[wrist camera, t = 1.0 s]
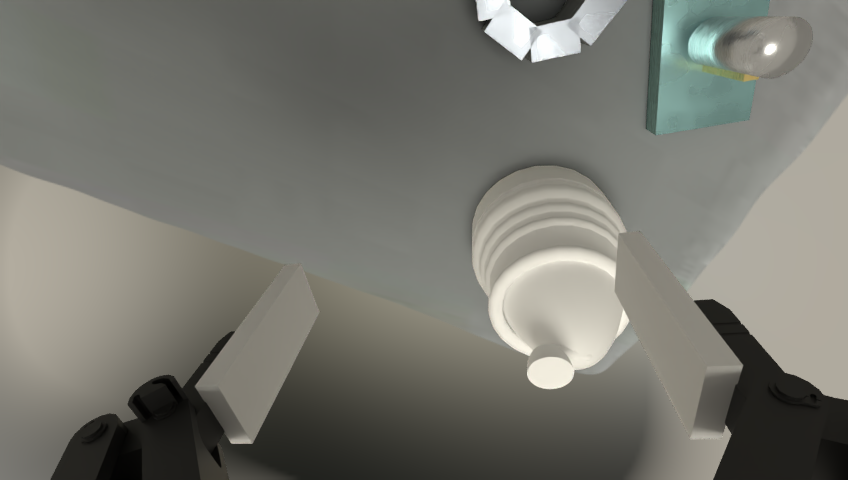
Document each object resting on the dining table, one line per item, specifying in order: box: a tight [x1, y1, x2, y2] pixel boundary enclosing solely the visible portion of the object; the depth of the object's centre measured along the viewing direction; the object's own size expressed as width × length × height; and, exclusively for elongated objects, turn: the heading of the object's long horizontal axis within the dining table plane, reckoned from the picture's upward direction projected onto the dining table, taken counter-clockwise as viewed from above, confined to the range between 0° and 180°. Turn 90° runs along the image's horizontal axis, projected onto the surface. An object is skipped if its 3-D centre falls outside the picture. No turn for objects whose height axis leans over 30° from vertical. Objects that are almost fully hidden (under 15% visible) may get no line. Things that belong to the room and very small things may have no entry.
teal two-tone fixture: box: [646, 0, 813, 135], centre depth 25 cm, size 12×6×9 cm, turn 12°
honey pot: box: [472, 166, 629, 389], centre depth 30 cm, size 13×13×18 cm
